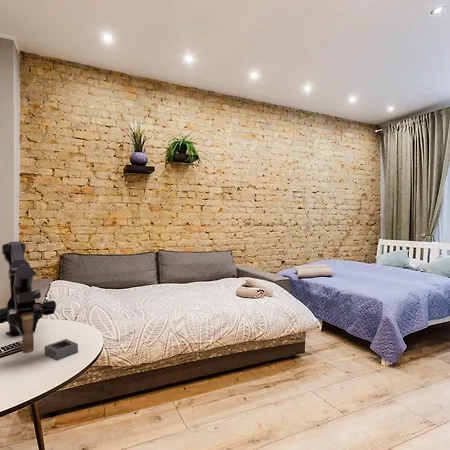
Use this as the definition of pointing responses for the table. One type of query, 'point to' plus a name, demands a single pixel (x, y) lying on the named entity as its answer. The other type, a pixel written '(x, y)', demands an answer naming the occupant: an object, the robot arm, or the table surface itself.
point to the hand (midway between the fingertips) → (28, 333)
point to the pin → (27, 332)
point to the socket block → (61, 349)
